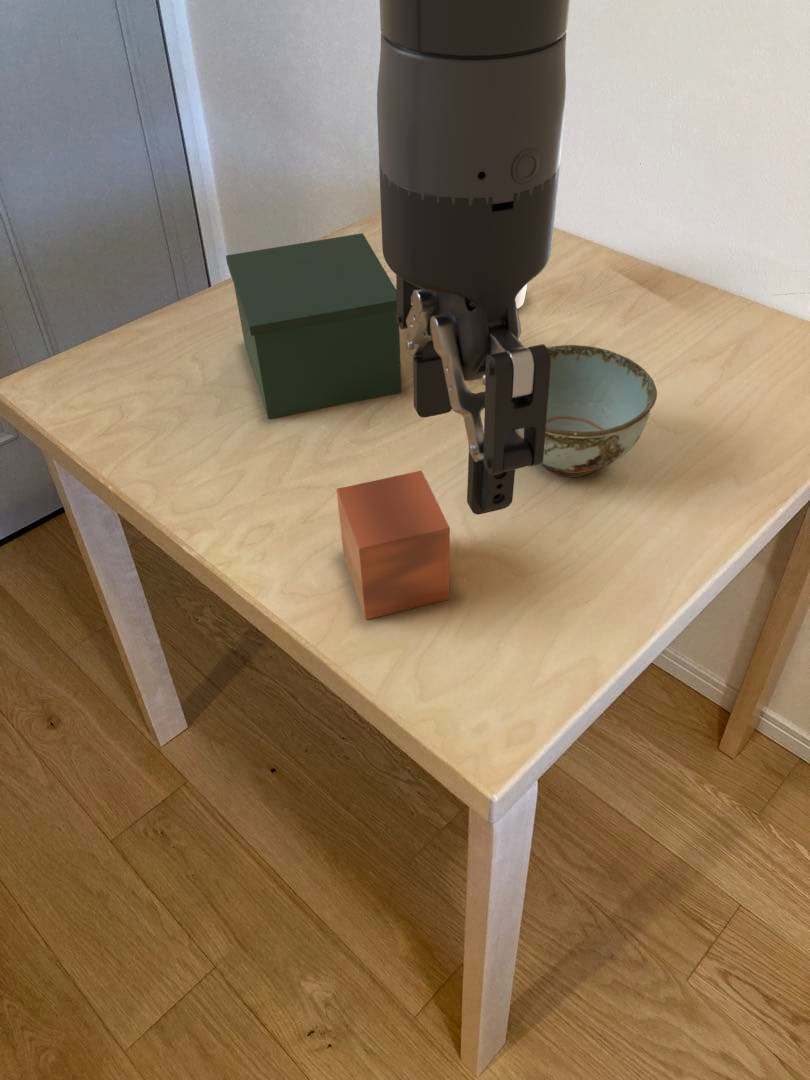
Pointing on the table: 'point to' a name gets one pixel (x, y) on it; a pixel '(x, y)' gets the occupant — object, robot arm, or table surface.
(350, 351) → the box
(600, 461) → the bowl
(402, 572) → the block
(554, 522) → the table surface
